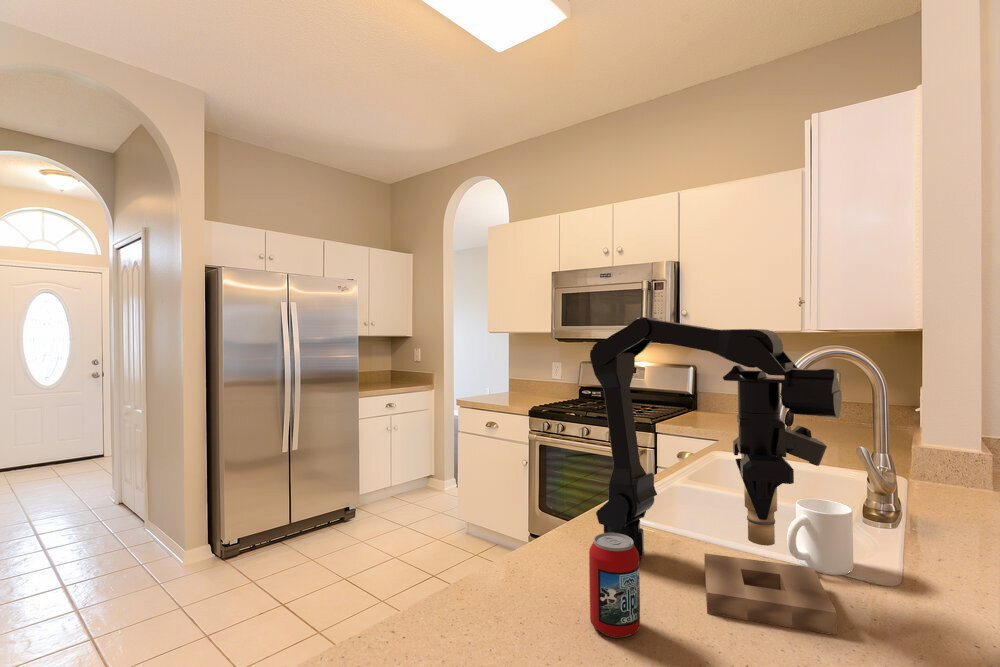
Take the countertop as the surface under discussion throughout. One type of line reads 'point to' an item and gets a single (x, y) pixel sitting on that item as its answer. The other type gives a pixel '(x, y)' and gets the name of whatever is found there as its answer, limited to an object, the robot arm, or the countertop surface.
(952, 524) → the countertop surface
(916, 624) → the countertop surface
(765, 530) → the peg
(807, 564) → the mug
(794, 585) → the board
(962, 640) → the countertop surface
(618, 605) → the beverage can
